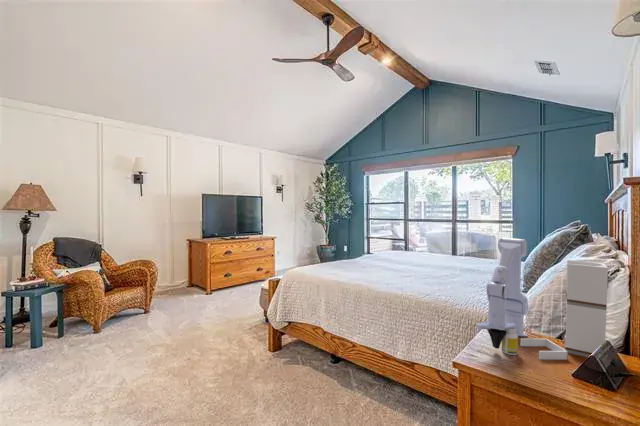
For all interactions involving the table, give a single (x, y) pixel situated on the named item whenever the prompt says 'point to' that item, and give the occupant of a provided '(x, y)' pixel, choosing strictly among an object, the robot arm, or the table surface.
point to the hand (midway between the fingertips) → (495, 347)
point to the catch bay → (556, 350)
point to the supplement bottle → (510, 342)
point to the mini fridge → (585, 306)
